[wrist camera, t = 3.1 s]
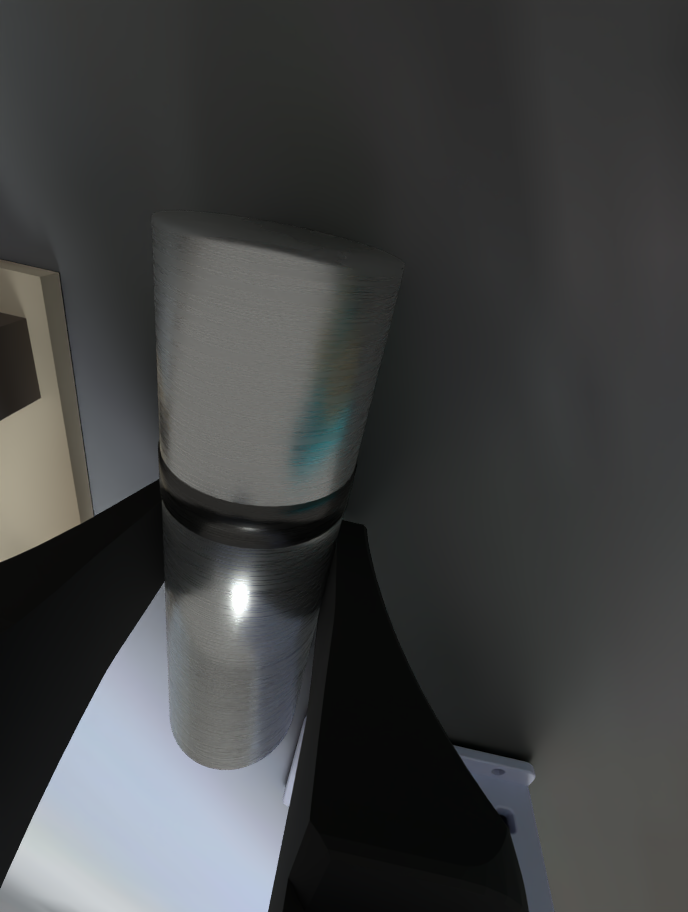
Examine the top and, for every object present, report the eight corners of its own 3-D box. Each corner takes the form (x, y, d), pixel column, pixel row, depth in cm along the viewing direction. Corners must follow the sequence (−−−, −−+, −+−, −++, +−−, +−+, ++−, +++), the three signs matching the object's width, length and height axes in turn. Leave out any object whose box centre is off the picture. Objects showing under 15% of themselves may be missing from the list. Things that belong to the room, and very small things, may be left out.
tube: (211, 207, 9) (87, 215, 5) (407, 251, 9) (406, 288, 5) (199, 634, 16) (143, 753, 13) (306, 659, 16) (279, 785, 13)
